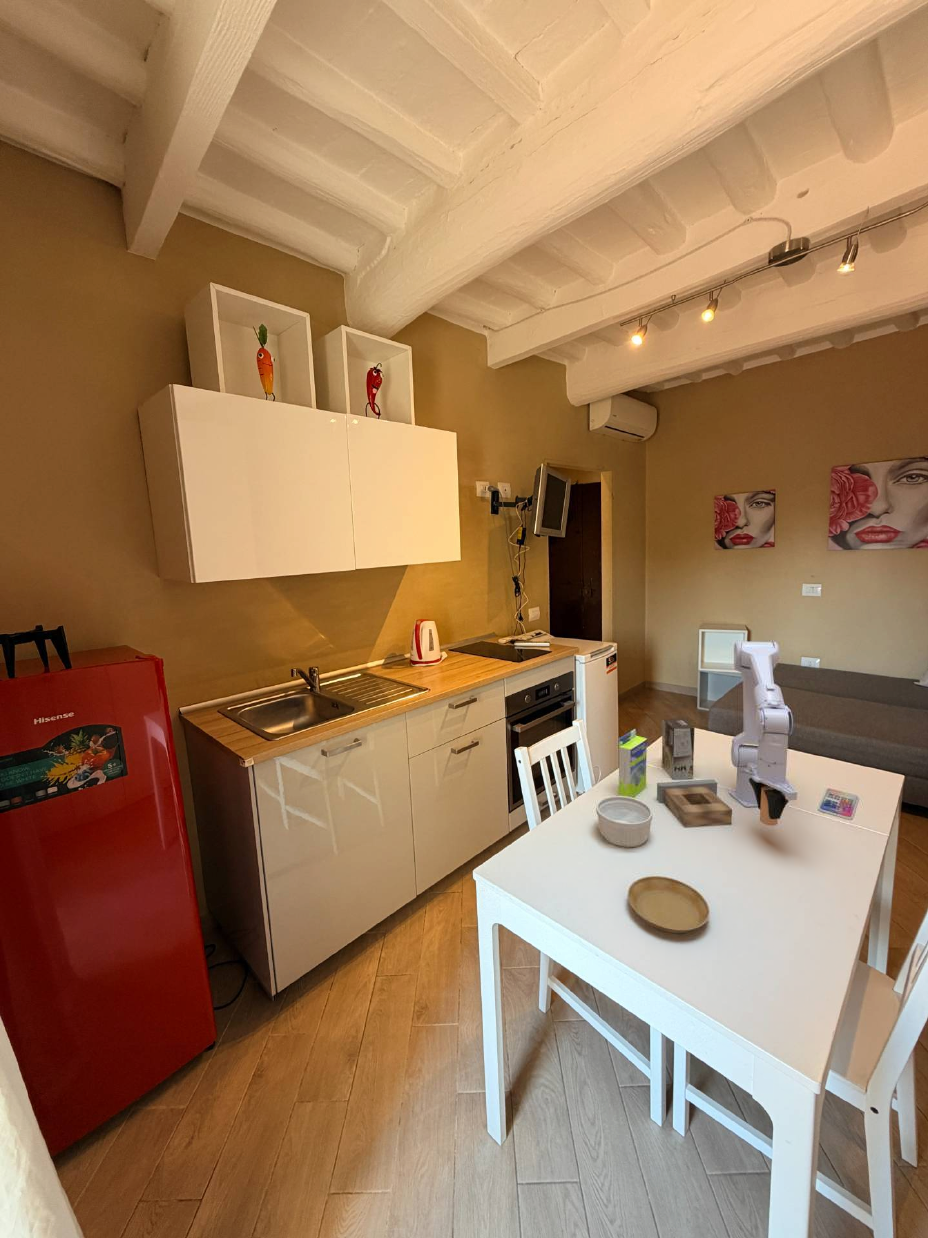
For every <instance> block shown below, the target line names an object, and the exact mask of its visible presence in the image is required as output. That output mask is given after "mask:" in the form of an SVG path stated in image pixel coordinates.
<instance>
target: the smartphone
mask: <svg viewBox="0 0 928 1238" xmlns="http://www.w3.org/2000/svg"><path fill="white" fill-rule="evenodd" d="M859 800H860V797H859V796H858V795H856V794H852V793H850V792H849V793H848V792H844V791H840V790H837V789H834V788H826V790H825V792H824V794H823V796H822V799H821V801H820V802H819V805H818V809H817V810H818V812H820V813H822V814H826V815H830V816H833V817H837V818H840V819H844V820H847V821H852V820H854V818H855V814H856V810H857V807H858V804H859Z"/></svg>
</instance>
